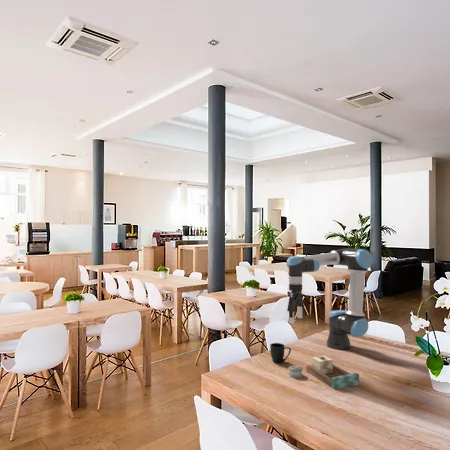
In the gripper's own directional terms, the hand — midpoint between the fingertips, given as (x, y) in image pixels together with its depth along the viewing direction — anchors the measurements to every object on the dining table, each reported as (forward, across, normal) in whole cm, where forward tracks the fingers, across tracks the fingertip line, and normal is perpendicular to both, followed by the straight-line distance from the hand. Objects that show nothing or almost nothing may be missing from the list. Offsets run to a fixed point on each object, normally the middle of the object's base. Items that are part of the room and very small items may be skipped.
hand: (295, 320), depth 210 cm
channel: (+25, +8, +22) cm, 34 cm away
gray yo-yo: (+25, +16, +5) cm, 30 cm away
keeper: (+25, +4, +16) cm, 30 cm away
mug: (+25, +2, -9) cm, 27 cm away
